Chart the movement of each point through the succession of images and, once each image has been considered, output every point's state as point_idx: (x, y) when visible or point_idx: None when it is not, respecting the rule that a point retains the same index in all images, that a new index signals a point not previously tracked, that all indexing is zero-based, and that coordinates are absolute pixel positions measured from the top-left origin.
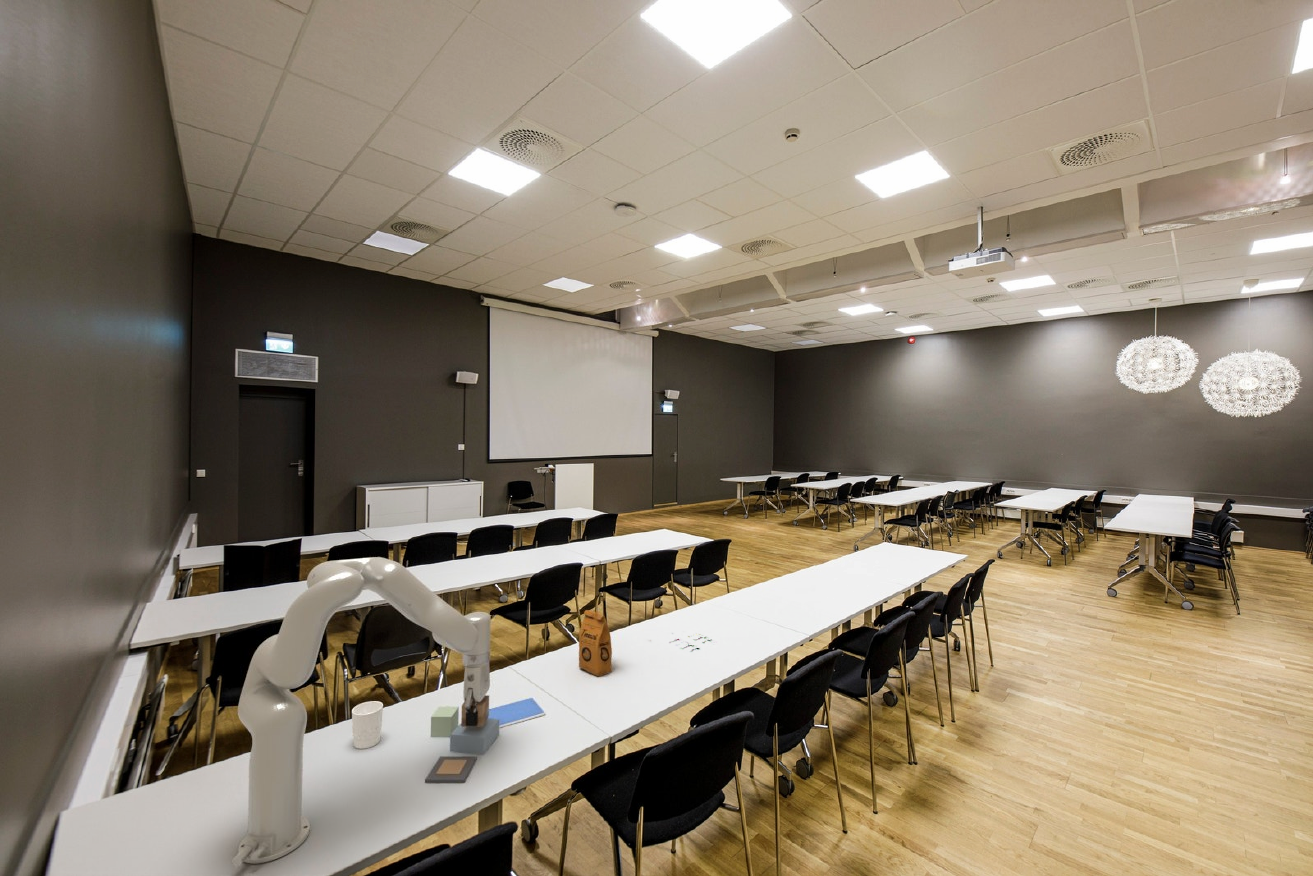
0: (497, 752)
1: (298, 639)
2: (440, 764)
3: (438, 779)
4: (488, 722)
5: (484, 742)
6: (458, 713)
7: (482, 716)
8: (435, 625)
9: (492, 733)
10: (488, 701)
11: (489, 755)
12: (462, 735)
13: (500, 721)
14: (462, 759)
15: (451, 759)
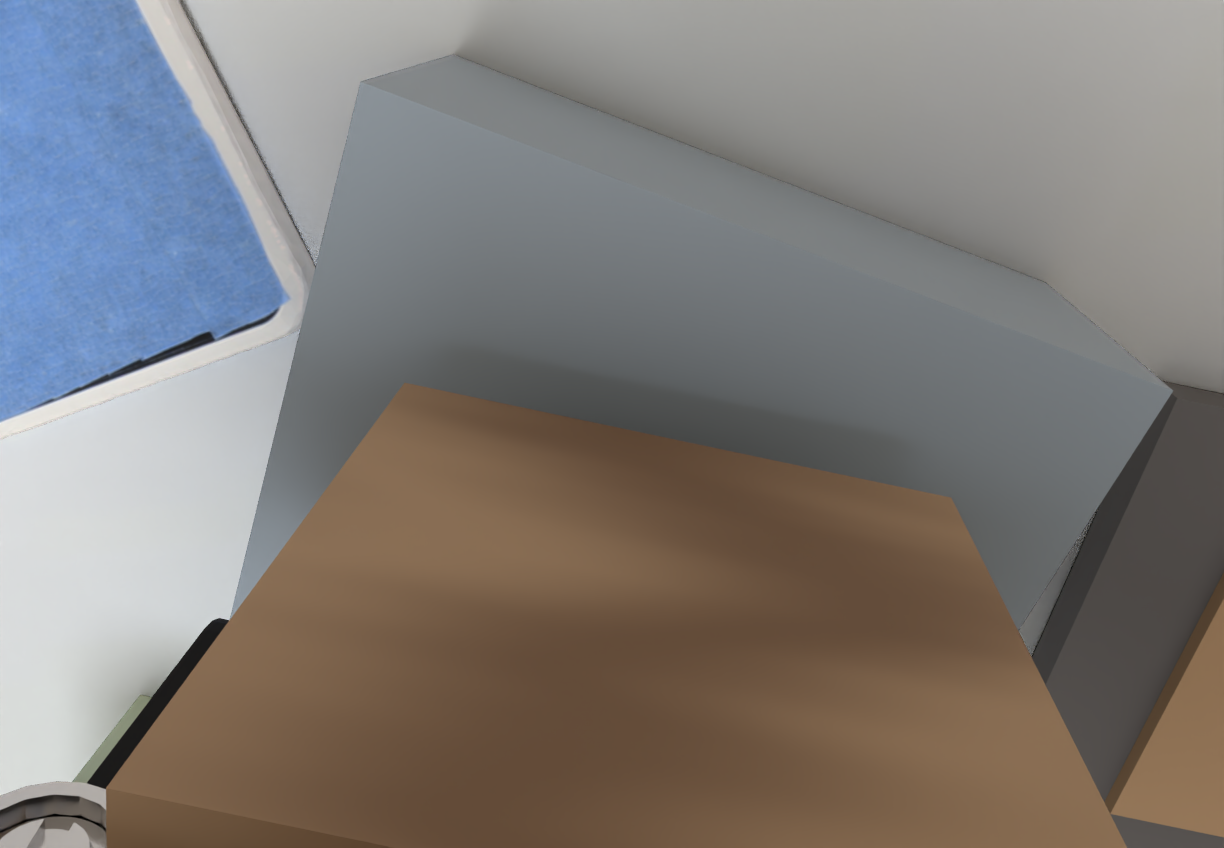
0: (1057, 38)
1: None
2: (1174, 839)
3: None
4: (489, 338)
5: (1102, 339)
6: None
7: (1036, 674)
8: None
9: (734, 196)
10: (317, 651)
11: (1104, 181)
12: None
13: (16, 60)
14: (1173, 598)
15: (1109, 732)
